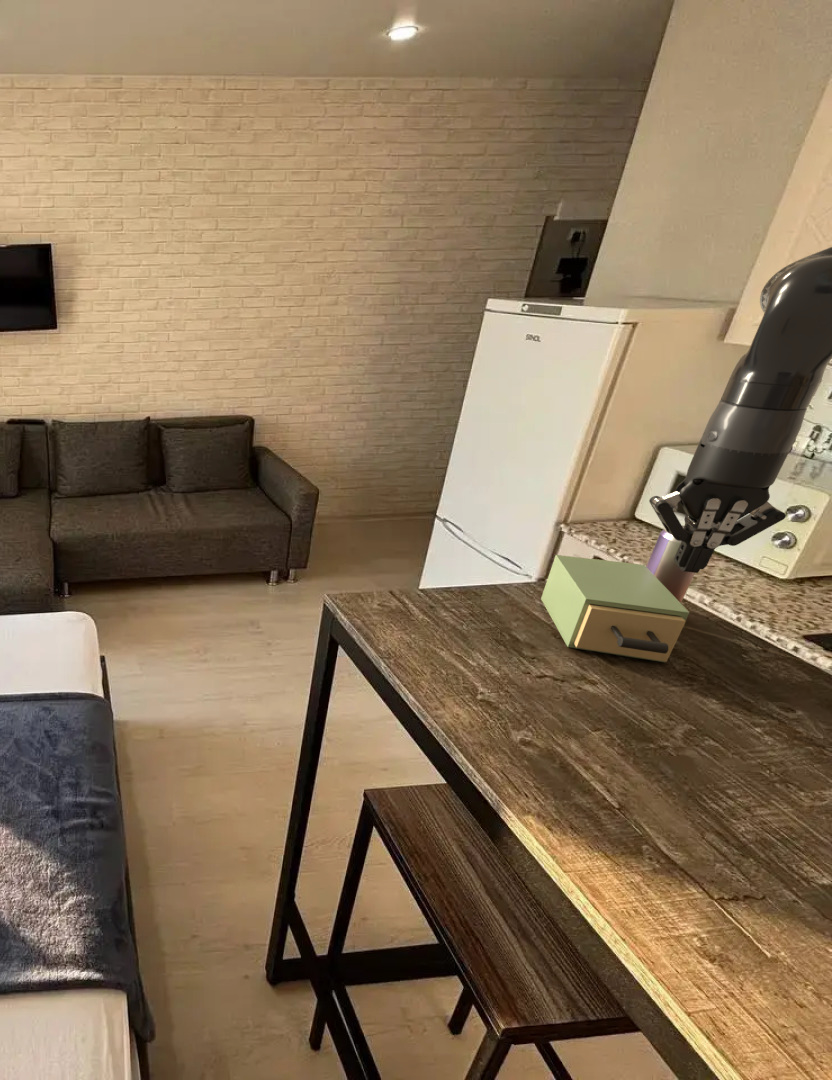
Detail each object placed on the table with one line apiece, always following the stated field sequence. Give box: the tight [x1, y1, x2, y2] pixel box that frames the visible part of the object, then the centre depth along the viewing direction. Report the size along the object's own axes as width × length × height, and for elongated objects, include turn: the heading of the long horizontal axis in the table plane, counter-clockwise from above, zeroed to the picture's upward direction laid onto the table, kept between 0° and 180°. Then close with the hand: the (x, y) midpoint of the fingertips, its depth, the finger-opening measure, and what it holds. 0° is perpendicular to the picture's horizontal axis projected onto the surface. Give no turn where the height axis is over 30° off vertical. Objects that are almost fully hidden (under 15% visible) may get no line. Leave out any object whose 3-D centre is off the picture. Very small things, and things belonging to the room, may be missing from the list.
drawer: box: [574, 604, 687, 663], centre depth 91 cm, size 19×11×7 cm, turn 159°
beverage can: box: [645, 524, 696, 604], centre depth 98 cm, size 6×6×15 cm
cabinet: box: [540, 554, 690, 663], centre depth 95 cm, size 16×13×9 cm
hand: (686, 569), depth 76 cm, fingers closed
